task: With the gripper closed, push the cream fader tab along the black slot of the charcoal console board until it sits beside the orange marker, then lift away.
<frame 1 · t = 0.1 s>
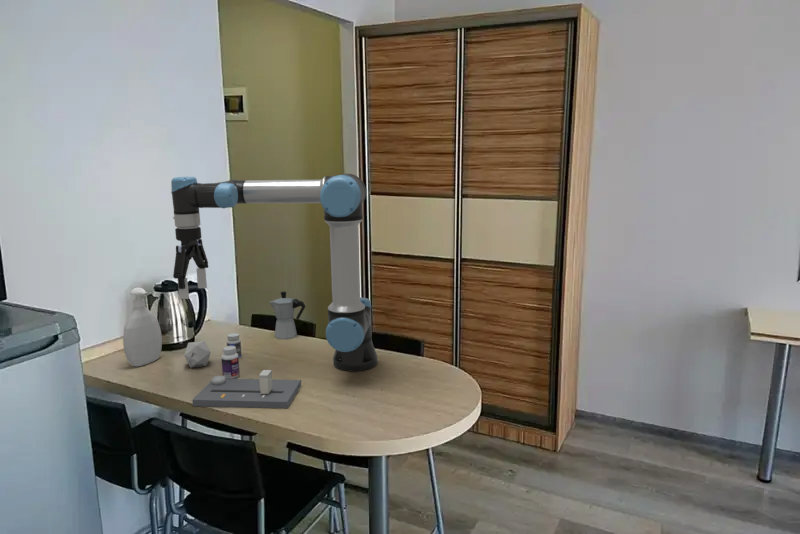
hand: (193, 293, 189), 28 cm above the table, fingers open, 13 cm apart
pill bottle 2: (234, 357, 211), on the table
pill bottle: (231, 376, 195), on the table
fader knob: (265, 381, 176), point 5 cm above the table, slide at -6.0 cm
die: (198, 365, 205), on the table
console: (249, 395, 179), on the table
soap bottle: (146, 363, 207), on the table
coffee maker: (288, 336, 234), on the table
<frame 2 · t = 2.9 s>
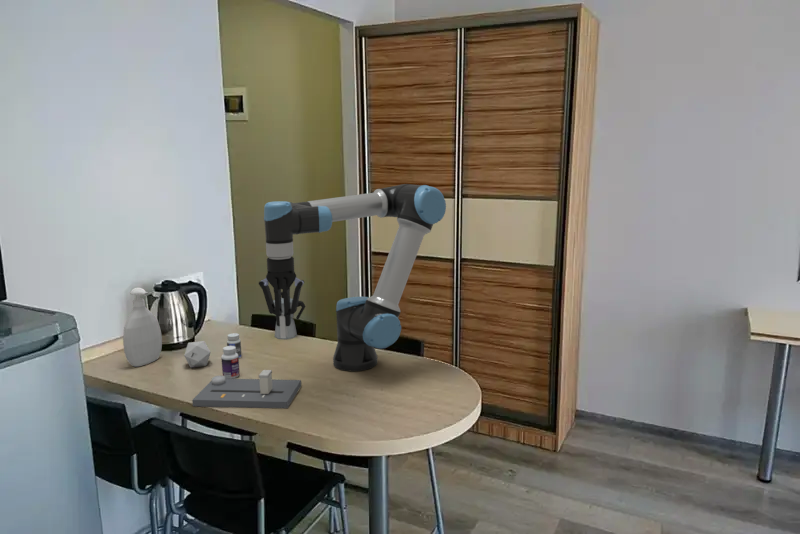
hand: (284, 336, 172), 19 cm above the table, fingers closed
nothing on the table moved.
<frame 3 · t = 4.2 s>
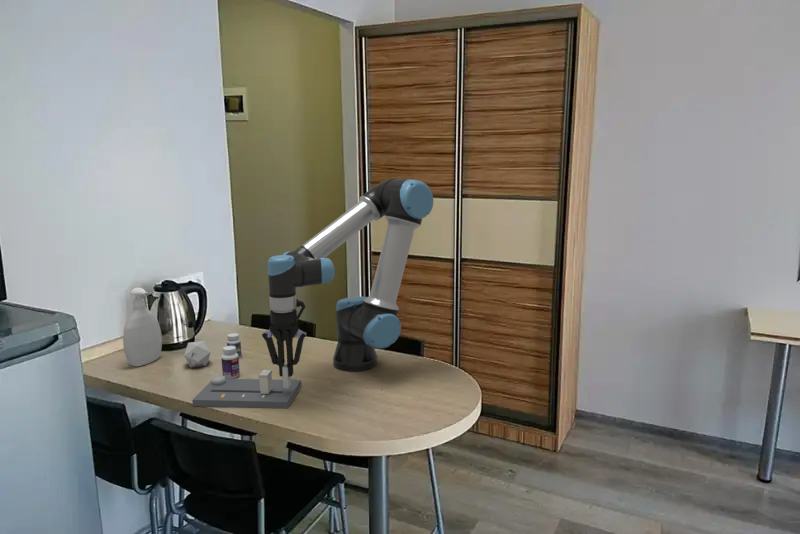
hand: (287, 386, 175), 4 cm above the table, fingers closed
nothing on the table moved.
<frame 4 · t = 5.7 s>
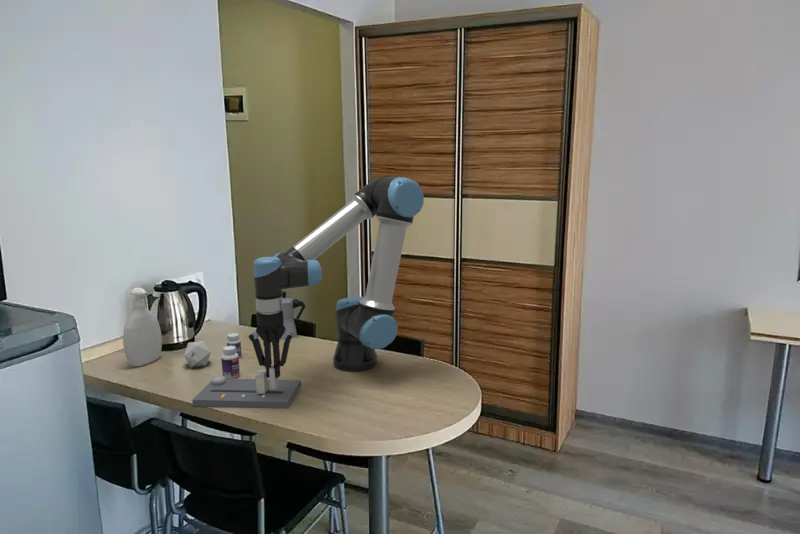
hand: (274, 387, 176), 4 cm above the table, fingers closed
fader knob: (262, 381, 176), point 5 cm above the table, slide at -4.9 cm, touching gripper
everything else where it was.
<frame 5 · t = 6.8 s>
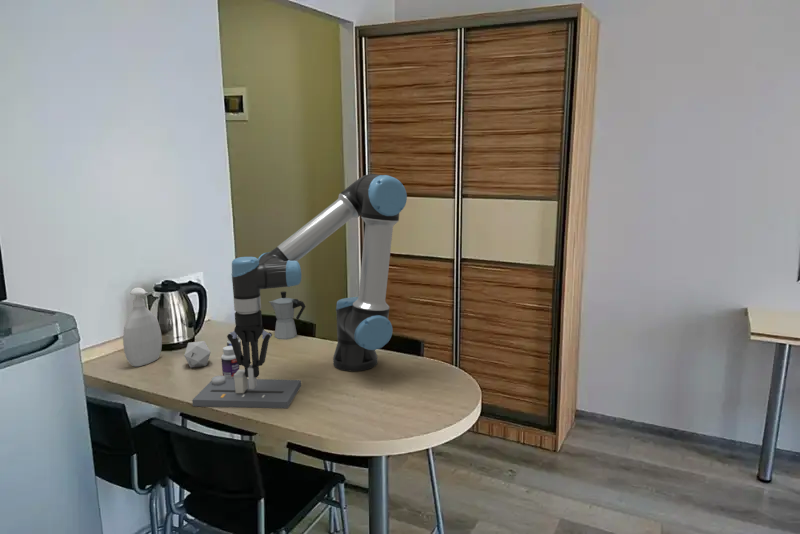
hand: (253, 387, 176), 4 cm above the table, fingers closed
fader knob: (241, 381, 177), point 5 cm above the table, slide at 1.5 cm, touching gripper
everything else where it was.
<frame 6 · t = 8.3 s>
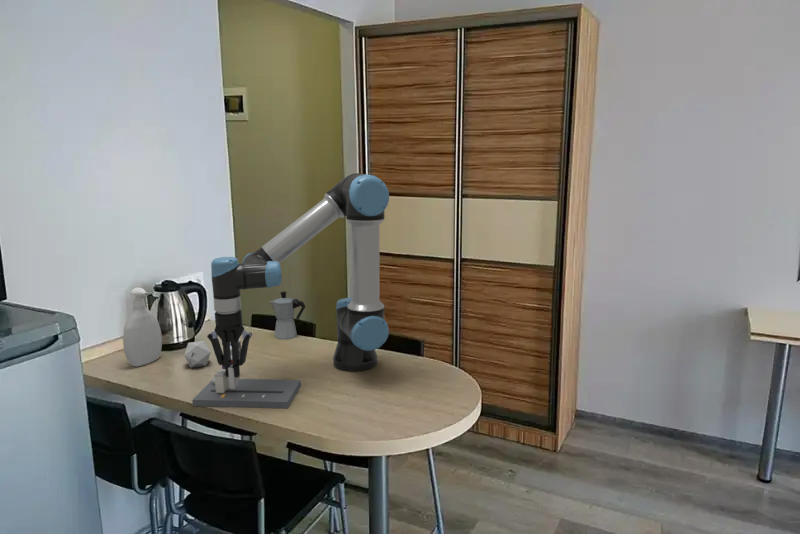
hand: (233, 386, 177), 3 cm above the table, fingers closed
fader knob: (221, 381, 177), point 5 cm above the table, slide at 7.5 cm, touching gripper
everything else where it was.
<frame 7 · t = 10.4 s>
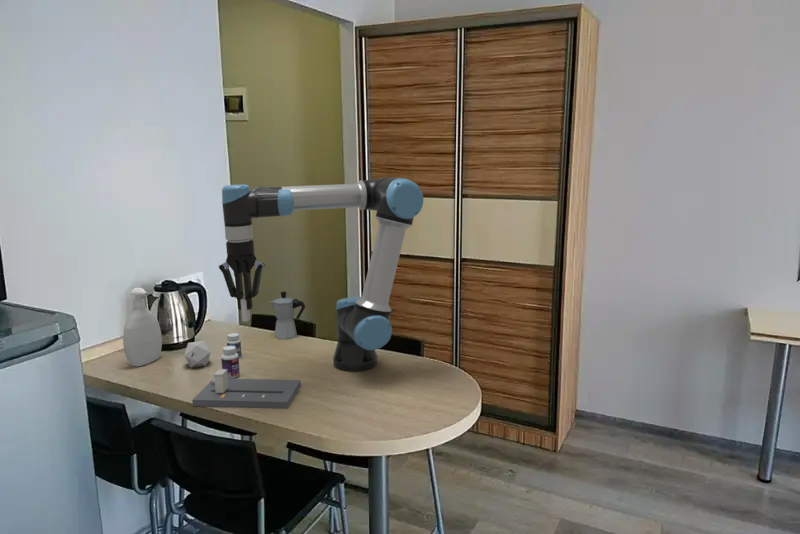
hand: (246, 320, 173), 24 cm above the table, fingers closed
fader knob: (221, 381, 177), point 5 cm above the table, slide at 7.6 cm
everything else where it was.
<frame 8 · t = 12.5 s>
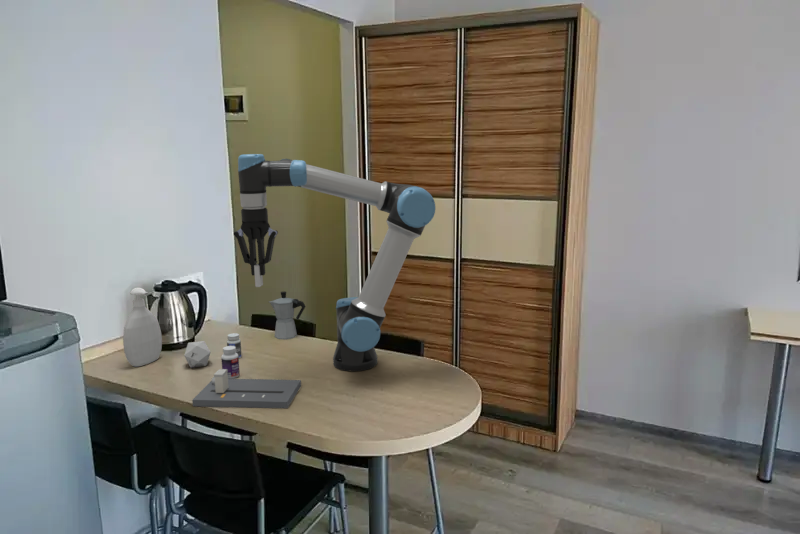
hand: (259, 285, 179), 32 cm above the table, fingers closed
nothing on the table moved.
at the end: fader knob slide at 7.6 cm; fader knob touching nothing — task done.
